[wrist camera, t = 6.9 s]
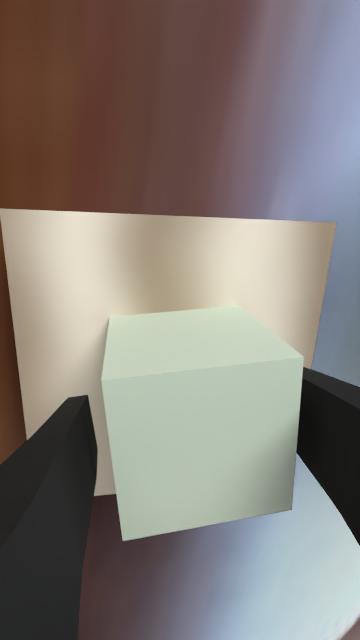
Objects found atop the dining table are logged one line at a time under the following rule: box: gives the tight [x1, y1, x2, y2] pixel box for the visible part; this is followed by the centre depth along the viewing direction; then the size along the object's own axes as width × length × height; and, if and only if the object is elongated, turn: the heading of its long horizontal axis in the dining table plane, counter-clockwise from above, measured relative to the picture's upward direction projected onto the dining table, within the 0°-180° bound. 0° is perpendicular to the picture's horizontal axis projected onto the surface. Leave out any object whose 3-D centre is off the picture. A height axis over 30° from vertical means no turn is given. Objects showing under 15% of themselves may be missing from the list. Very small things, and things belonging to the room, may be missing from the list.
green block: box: [101, 305, 304, 541], centre depth 11 cm, size 5×5×5 cm
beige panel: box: [0, 209, 337, 496], centre depth 15 cm, size 12×12×4 cm
